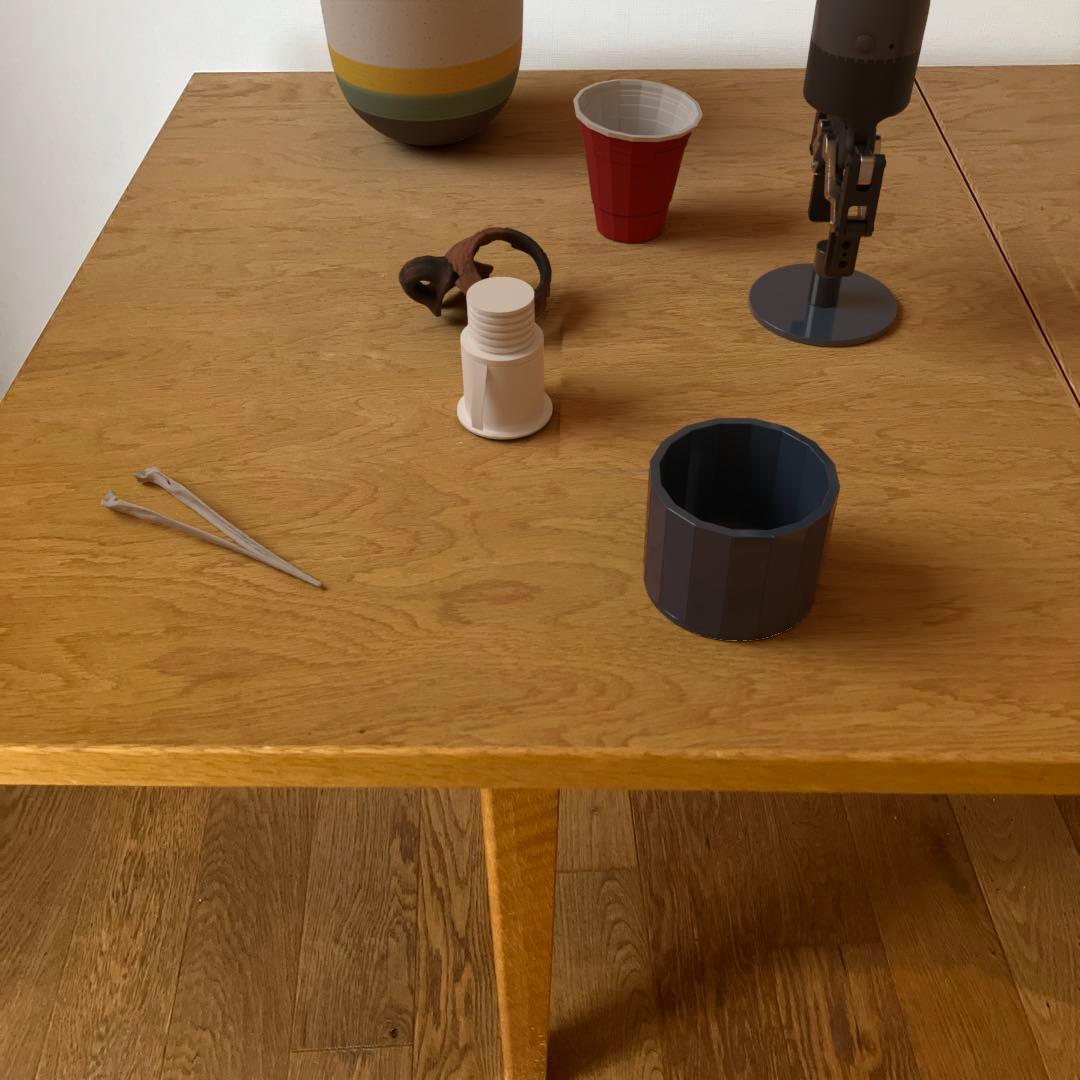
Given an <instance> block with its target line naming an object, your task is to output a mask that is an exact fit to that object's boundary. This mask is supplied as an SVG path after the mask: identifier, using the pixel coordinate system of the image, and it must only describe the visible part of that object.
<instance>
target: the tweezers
mask: <svg viewBox="0 0 1080 1080" xmlns="http://www.w3.org/2000/svg"><path fill="white" fill-rule="evenodd" d="M133 477H134V478H135V479H136V481H137V483H138V484H141V483H147V482H148V483H149V482H150V483H153V484H155V485H158V486H160V487H161V488H162V489H164V490H166V491H167V492H168V493H170V494H171V495H172V496H173V497H174V498H175V499H177V500H178V501H180V503H183V504H184V505H186V506H187V507H189V508H191V509H192V510H193V511H195V512H196V513H197V514H198V515H200V516H201V517H203V518H204V519H205V520H206V521H207V522H209V523H210V524H211V525H213V526H214V527H215V528H217V529H218V530H219V531H221V533H223V534H225V535H226V536H227V537H228V538H230V539H231V540H233V541H234V542H236V543H237V544H235V543H233V542H231V541H228V540H226V539H225V538H222V537H220V536H217V535H215V534H213V533H210V532H208V531H205V530H203V529H200V528H198V527H195V526H193V525H190V524H188V523H184V522H182V521H179V520H176V519H174V518H171V517H168V516H167V515H164V514H162V513H159V512H157V511H154V510H152V509H149V508H147V507H145V506H142V505H138V504H135V503H132V502H128V501H125V500H122V499H119V500H118V497H117V496H116V494H115V491H114V490H112V489H111V490H110V491H108V493H106V494H105V496H104V497H102V499H101V503H100V505H101V506H102V507H104V508H107V509H110V510H113V511H116V512H120V513H123V514H127V515H130V516H134V517H136V518H139V519H141V520H144V521H147V522H152V523H156V524H160V525H163V526H167V527H170V528H172V529H175V530H177V531H180V532H182V533H184V534H188V535H191V536H193V537H195V538H198V539H201V540H205V541H207V542H210V543H213V544H215V545H218V546H221V547H224V548H226V549H229V550H232V551H234V552H236V553H239V554H242V555H245V556H247V557H249V558H252V559H254V560H256V561H258V562H261V563H263V564H266V565H267V566H269V567H272V568H274V569H277V570H279V571H281V572H283V573H285V574H288V575H290V576H293V577H294V578H297V579H298V580H299V579H300V580H301V581H304V582H306V583H309V584H311V585H312V586H315V587H318V588H322V587H323V584H322V582H321V581H319V580H317V579H315V578H314V577H312V576H311V575H308V574H307V573H305V572H304V571H303V570H300V569H299V568H298V567H296V566H295V565H293V564H291V563H289V562H287V561H286V560H285V559H283V558H281V557H280V556H278V555H276V553H274V552H272V551H270V550H269V549H267V548H266V547H265V546H264V545H262V544H260V543H259V542H258V541H256V540H254V538H252V537H251V536H250V535H248V534H246V533H245V532H244V531H242V530H241V529H239V528H238V527H236V526H235V525H234V524H233V523H231V522H230V521H229V520H227V519H225V517H223V516H222V515H221V514H220V513H218V512H217V511H215V510H214V509H213V508H212V507H211V506H210V505H208V504H206V503H205V502H204V501H203V500H202V499H200V498H199V497H198V496H197V495H195V494H194V493H192V491H190V490H189V489H188V488H187V487H185V486H184V485H183V484H181V483H179V482H177V481H176V480H174V479H173V478H171V477H169V476H168V475H166V474H165V473H164V472H163V469H161V468H159V467H157V466H156V465H152V467H149V468H148V467H147V468H144V469H141V470H138V471H137V472H135V473H134V474H133Z"/></svg>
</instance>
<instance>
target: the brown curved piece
mask: <svg viewBox="0 0 1080 1080" xmlns="http://www.w3.org/2000/svg"><path fill="white" fill-rule="evenodd" d="M495 241H499V242H500V241H502V242H506V243H509V244H510V248H512V249H514V250H517V251H520V252H523V253H525V254H526V255H527V256H529V257H531V259H532V260H533V262H534V263H535V264H536V267H537V270H538V271H539V283H538V284H537V286H536V288H535V289H533V290H534V309H535V313H534V315H535V321H537V320H538V319H539V317H541V315H542V314H543V313H544V311H545V310H546V308H547V307H548V305H549V304H548V298H550V297H551V282H552V280H553V278H552V277H553V275H552V274H553V271H552V266H551V262H550V259H549V258H548V255H547V253H546V252H545V251H544V249H543V248H542V247H541V245H539V243H538V242H537V241H536V240H535V239H533V238H532V237H531V236H529V235H528V234H526V233H523V232H522V231H519V230H517V229H514V228H510V227H498V226H495V227H494V226H493V227H487V228H483V229H482V230H481V231H477V232H475V233H474V234H473V235H471V236H468V237H466V238H464V239H462V240H460V241H457V243H455V244H453V246H451V247H450V249H449V250H448V251H447V252H446V253H445V255H441V256H436V255H429V254H427V255H422V256H416V257H414V258H412V259H410V260H407V261H406V262H405V264H403V266H402V267H401V269H400V272H399V273H398V282H399V284H400V286H401V289H402V290H403V292H404V294H405V295H406V296H407V297H409V298H410V299H412V301H414V302H416V303H418V304H420V305H423V306H425V307H427V309H428V310H429V311H430V312H431V314H432V315H433V316H435V317H436V318H439V317H441V316H442V307H443V301H444V298H445V296H446V294H447V293H449V292H450V291H451V290H452V289H454V288H455V287H456V288H458V289H459V290H460V292H462V293H463V294H464V296H465V297H466V298H467V291H468V289H469V288H470V287H471V286H472V285H473V284H475V283H477V282H479V281H481V280H484V279H487V278H490V276H491V274H492V273H493V271H494V269H495V267H494V265H492V264H489V263H484V262H480V261H477V260H475V256H476V255H477V254H478V252H479V251H480V248H481V247H486V246H487V245H490V244H491V243H493V242H495ZM423 282H428V283H426V284H425V283H423Z"/></svg>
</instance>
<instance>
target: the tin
mask: <svg viewBox="0 0 1080 1080" xmlns="http://www.w3.org/2000/svg"><path fill="white" fill-rule="evenodd" d="M648 468H649V469H648V481H647V497H646V512H645V513H646V514H645V526H644V530H645V531H644V541H643V542H644V543H643V555H642V556H643V557H642V560H643V561H642V565H643V575H642V577H643V583H644V587H645V591H646V593H647V595H648V597H649V599H650V601H651V602H652V603H653V605H654V607H656V609H657V610H658V611H659V612H660V613H661V614H662V615H663V616H664V617H665V618H666V619H668V620H669V621H671V622H672V623H673V622H674V624H675V625H676V626H678V625H679V626H678V627H680V628H682V627H683V628H682V629H684V628H685V629H684V630H685V631H688V630H689V631H688V632H690V633H692V632H694V633H693V634H695V633H696V634H695V635H698V634H700V635H702V636H701V637H704V636H705V637H704V638H707V637H711V638H716V639H722V640H737V641H743V640H747V641H746V642H750V641H749V640H756V639H762V638H766V637H770V638H772V637H771V636H772V635H773V637H775V636H774V635H775V634H778V633H781V632H784V631H785V632H787V631H788V630H787V629H789V628H791V627H793V626H794V627H796V625H795V624H797V623H798V624H800V622H802V621H803V620H804V619H805V618H806V617H807V615H809V613H810V612H811V610H812V608H813V606H814V605H815V602H816V599H817V595H818V592H819V590H820V589H819V588H820V586H821V582H822V577H823V573H824V567H825V562H826V559H827V553H828V549H829V544H830V539H831V534H832V529H833V524H834V521H835V520H834V519H835V514H836V510H837V505H838V501H839V500H838V499H839V497H840V496H839V495H840V491H841V485H840V479H839V476H838V472H837V467H836V463H835V462H834V461H833V460H832V459H831V457H830V456H829V455H828V454H827V453H826V452H825V450H823V448H822V447H821V446H820V445H819V443H817V442H816V441H815V440H813V439H811V438H810V437H807V436H806V435H804V434H802V433H800V432H798V431H796V429H793V428H791V427H789V426H787V425H783V424H779V423H775V422H770V421H766V420H763V419H759V418H754V417H716V418H711V419H706V420H703V421H699V422H694V423H691V424H687V425H685V426H683V427H682V428H680V429H678V430H677V431H675V432H674V433H672V434H670V435H669V436H668V437H667V436H666V438H664V439H662V441H661V442H660V443H659V445H658V447H657V449H656V451H655V452H654V454H653V455H652V457H651V458H650V460H649V465H648ZM804 617H805V618H804ZM803 618H804V619H803ZM802 619H803V620H802ZM798 624H797V625H798ZM794 627H793V628H794ZM791 629H792V628H791ZM786 630H787V631H786ZM789 630H790V629H789ZM785 632H784V633H785ZM700 635H699V636H700ZM711 638H710V639H711ZM716 639H715V640H716ZM766 639H767V638H766ZM722 640H721V641H722ZM762 640H763V639H762ZM756 641H757V640H756Z"/></svg>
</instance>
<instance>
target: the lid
mask: <svg viewBox="0 0 1080 1080" xmlns="http://www.w3.org/2000/svg"><path fill="white" fill-rule="evenodd" d="M827 242H828V238H827V239H822V240H820V241H818V242H817V243H816V245H815V250H814V255H813V262H806V263H805V262H803V263H802V262H801V263H794V264H789V265H788V264H787V265H783V266H780V267H777V268H774V269H772V270H769V271H767V272H765V273H764V274H762V275H761V276H759V277H758V278H757V279H755V281H754V282H753V284H752V285H751V287H750V289H749V293H748V299H747V301H748V307H749V311H750V313H751V314H752V316H753V317H754V319H755V320H756V321H757V322H758V323H759V324H760V325H761V326H762V327H764V328H765V329H767V330H768V331H769V332H771V333H772V334H774V335H777V336H779V337H782V338H784V339H786V340H790V341H793V342H797V343H799V344H804V345H809V346H810V345H811V346H816V347H830V348H836V347H848V346H849V347H850V346H856V345H862V344H864V343H865V344H866V343H868V342H872V341H874V340H876V339H878V338H880V337H881V336H883V335H885V334H886V333H887V332H888V331H889V330H890V329H891V328H893V325H894V323H895V322H896V318H897V315H898V302H897V299H896V297H895V295H894V294H893V293H892V291H891V290H890V289H889V288H888V287H887V285H885V284H884V283H883V282H881V281H880V280H878V279H876V278H875V277H873V276H871V275H869V274H867V273H864V272H862V271H859V270H857V269H854V273H853V274H852V275H851V276H849V277H829V276H826V275H825V273H824V269H823V264H824V259H825V253H826V248H827Z"/></svg>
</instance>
